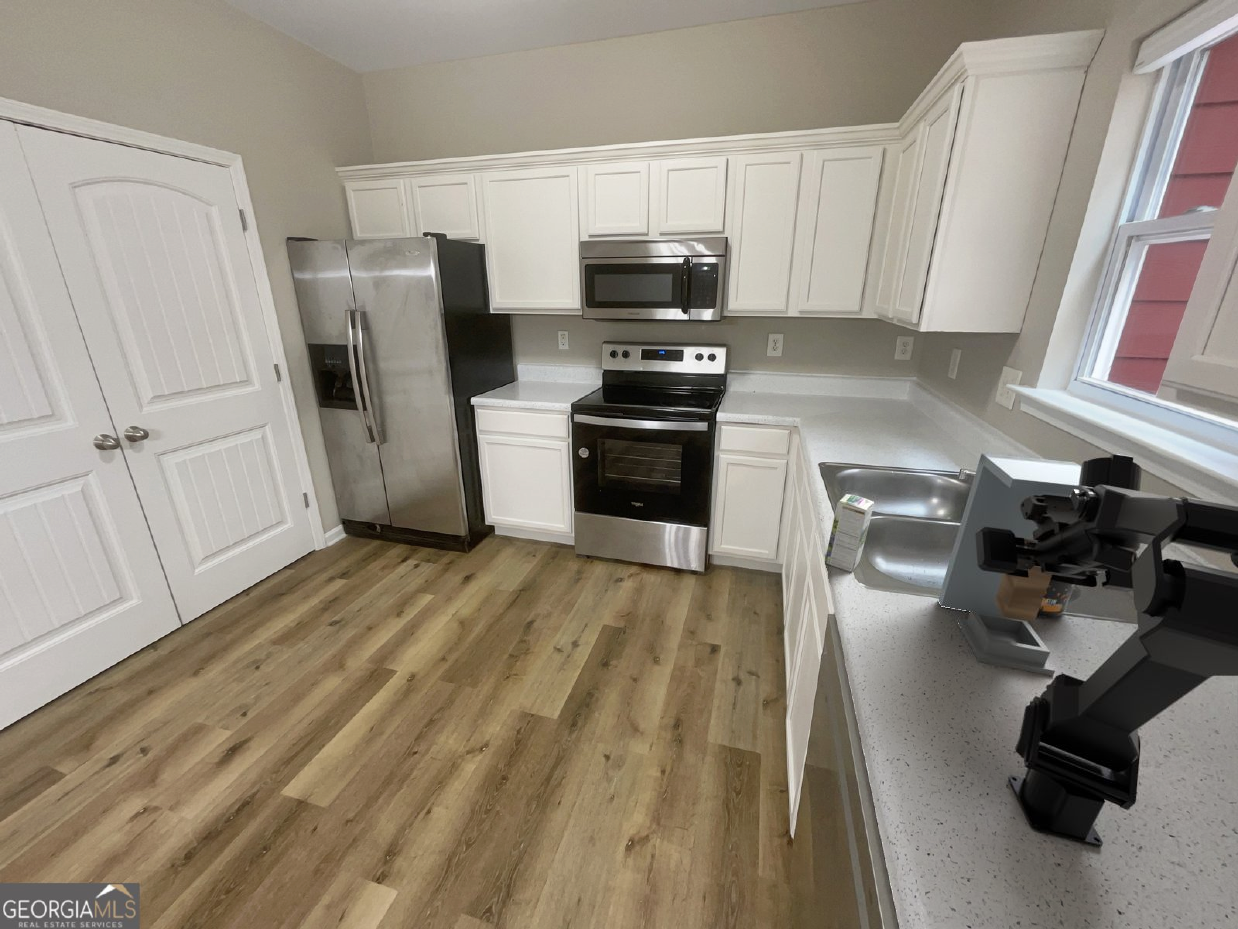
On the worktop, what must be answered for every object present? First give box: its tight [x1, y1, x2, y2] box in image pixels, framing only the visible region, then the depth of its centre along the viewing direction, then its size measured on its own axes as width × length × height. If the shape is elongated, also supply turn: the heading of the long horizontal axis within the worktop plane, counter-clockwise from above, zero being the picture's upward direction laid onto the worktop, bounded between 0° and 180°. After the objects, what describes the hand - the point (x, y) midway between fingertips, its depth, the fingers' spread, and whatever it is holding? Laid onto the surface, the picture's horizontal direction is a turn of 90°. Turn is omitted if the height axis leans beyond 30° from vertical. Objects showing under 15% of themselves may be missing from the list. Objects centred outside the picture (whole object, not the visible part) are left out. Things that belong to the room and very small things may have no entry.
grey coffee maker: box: [937, 452, 1081, 616], centre depth 81 cm, size 12×13×30 cm
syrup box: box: [824, 493, 875, 573], centre depth 103 cm, size 6×6×14 cm
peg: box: [994, 539, 1052, 623], centre depth 78 cm, size 4×4×12 cm
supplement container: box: [1036, 580, 1076, 618], centre depth 92 cm, size 10×10×12 cm
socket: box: [957, 610, 1056, 677], centre depth 82 cm, size 10×10×4 cm
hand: (1022, 572), depth 79 cm, fingers closed on peg, 4 cm apart
